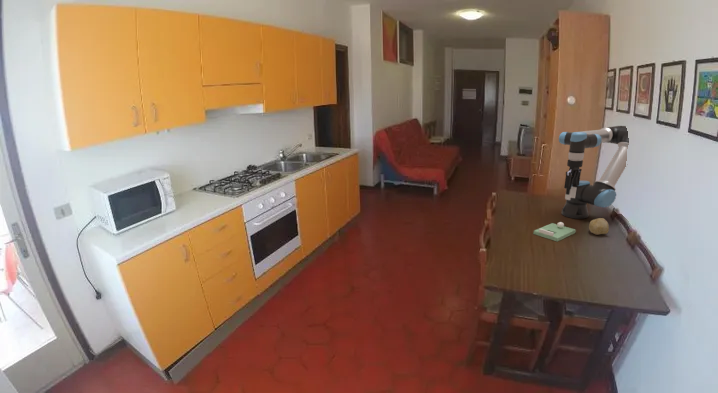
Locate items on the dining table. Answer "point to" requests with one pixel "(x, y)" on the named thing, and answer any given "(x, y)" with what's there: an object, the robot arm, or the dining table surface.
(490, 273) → the dining table surface
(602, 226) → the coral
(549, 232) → the mat
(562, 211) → the robot arm
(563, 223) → the ball
